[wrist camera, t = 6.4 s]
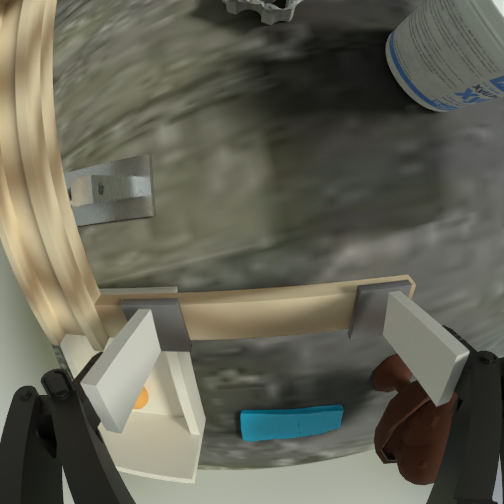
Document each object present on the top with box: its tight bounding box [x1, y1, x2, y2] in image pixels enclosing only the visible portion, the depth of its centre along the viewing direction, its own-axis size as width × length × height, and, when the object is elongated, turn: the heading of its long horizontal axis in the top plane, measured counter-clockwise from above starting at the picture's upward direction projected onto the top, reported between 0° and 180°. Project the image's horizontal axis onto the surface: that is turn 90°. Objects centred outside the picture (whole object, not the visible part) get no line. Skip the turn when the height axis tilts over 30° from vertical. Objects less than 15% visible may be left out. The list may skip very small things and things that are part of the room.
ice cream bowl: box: [372, 354, 458, 485], centre depth 18 cm, size 11×11×15 cm
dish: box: [60, 286, 206, 484], centre depth 20 cm, size 17×13×9 cm
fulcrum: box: [64, 154, 156, 226], centre depth 17 cm, size 5×11×8 cm, turn 94°
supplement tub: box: [385, 0, 504, 112], centre depth 11 cm, size 10×10×15 cm
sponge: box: [240, 405, 344, 441], centre depth 27 cm, size 2×12×6 cm
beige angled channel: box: [0, 0, 416, 352], centre depth 10 cm, size 28×26×4 cm
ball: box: [133, 386, 148, 409], centre depth 24 cm, size 3×3×3 cm
